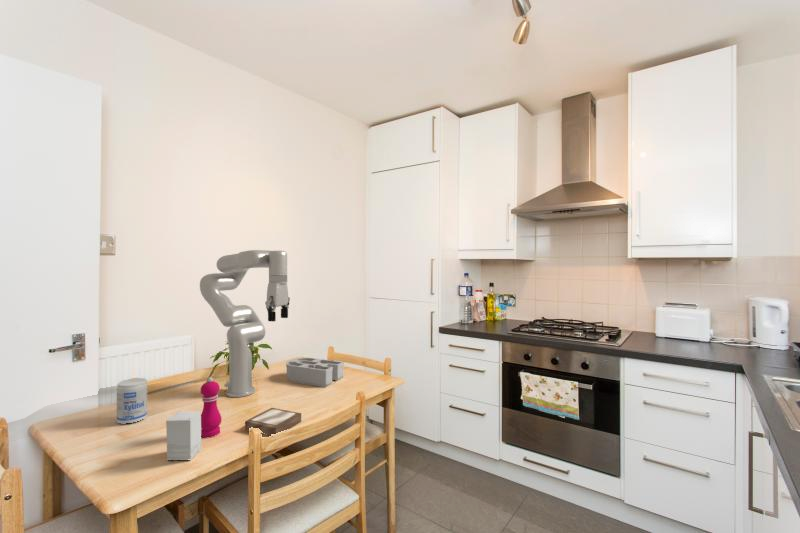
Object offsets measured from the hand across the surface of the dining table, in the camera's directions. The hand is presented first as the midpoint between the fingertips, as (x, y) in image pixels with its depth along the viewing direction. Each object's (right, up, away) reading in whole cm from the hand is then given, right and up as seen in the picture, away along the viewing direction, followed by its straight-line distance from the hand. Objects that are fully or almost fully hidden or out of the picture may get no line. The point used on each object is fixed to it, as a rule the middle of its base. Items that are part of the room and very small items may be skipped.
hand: (278, 319), depth 165 cm
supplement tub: (-50, -36, -18) cm, 64 cm away
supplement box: (-15, -37, -44) cm, 59 cm away
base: (+6, -36, -23) cm, 43 cm away
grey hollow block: (+7, -36, +33) cm, 49 cm away
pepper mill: (-15, -36, -29) cm, 49 cm away
